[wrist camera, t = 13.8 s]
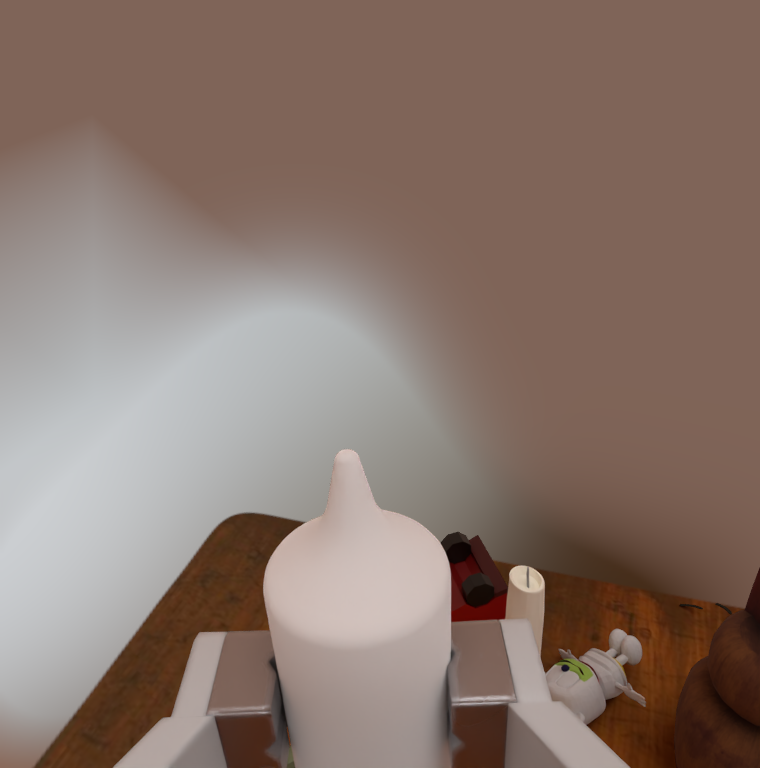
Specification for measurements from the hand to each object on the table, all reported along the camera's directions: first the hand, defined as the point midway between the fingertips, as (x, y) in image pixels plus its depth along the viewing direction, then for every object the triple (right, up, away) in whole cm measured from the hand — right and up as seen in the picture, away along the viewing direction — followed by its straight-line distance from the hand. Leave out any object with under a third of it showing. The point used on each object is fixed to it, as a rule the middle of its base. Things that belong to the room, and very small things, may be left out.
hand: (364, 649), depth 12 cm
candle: (+1, -10, +5) cm, 11 cm away
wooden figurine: (+18, -16, +23) cm, 33 cm away
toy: (+22, -9, +32) cm, 40 cm away
